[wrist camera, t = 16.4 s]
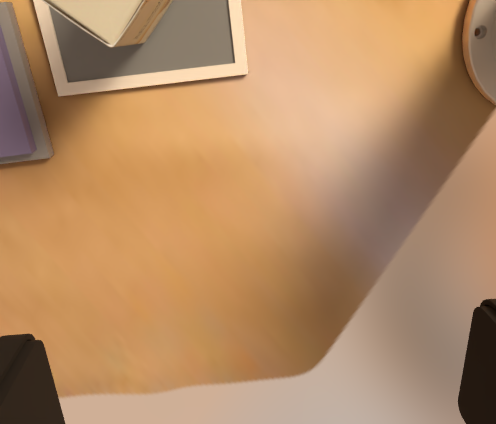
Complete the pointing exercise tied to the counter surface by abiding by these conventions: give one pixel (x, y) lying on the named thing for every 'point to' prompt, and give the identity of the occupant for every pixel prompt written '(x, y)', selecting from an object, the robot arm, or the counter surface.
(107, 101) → the counter surface
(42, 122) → the ink pad
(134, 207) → the counter surface
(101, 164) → the counter surface
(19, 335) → the robot arm
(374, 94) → the counter surface
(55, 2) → the skincare box
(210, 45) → the white picture frame
